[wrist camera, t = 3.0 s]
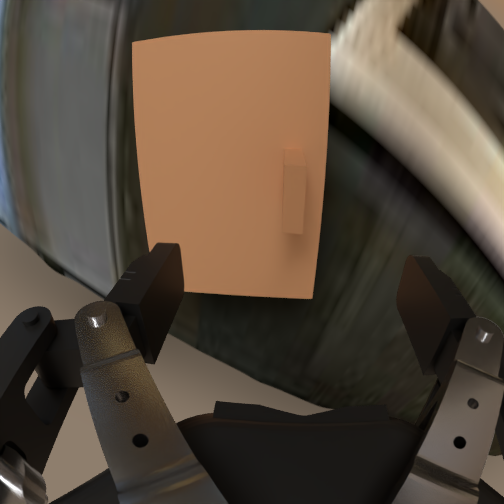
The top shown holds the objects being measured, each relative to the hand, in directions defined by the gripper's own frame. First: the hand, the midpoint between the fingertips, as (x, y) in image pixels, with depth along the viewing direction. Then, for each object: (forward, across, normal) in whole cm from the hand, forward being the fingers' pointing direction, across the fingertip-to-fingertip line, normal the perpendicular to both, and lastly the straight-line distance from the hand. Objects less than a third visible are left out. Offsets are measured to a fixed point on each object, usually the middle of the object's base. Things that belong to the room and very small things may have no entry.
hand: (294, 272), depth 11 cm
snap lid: (+15, +4, 0) cm, 15 cm away
